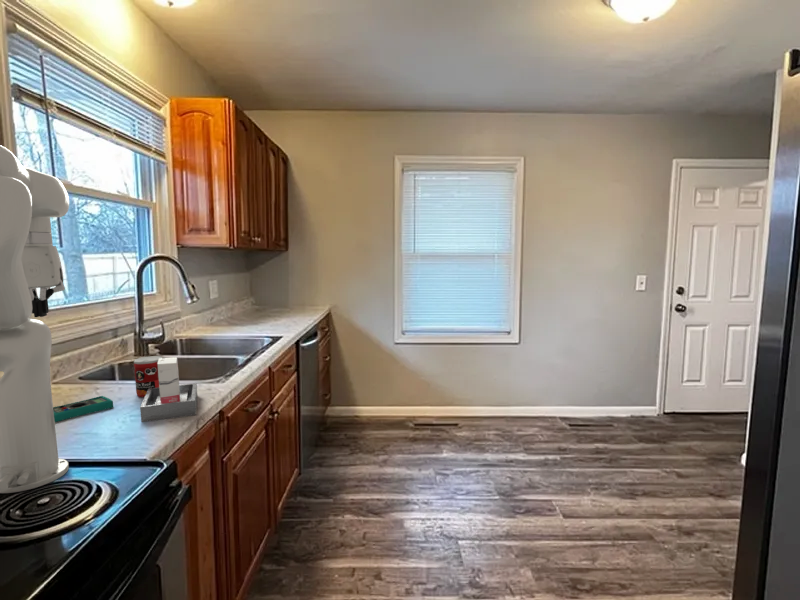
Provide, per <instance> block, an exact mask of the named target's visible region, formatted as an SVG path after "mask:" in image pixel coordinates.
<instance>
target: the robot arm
mask: <svg viewBox="0 0 800 600" xmlns="http://www.w3.org/2000/svg"><path fill="white" fill-rule="evenodd" d="M69 209H70V198H69V193H68V192H67V190H66V188H65V186H64V184H63V183H62V182H61V180H59V178H57V177H55V176H53V175H50V174H48V173H44V172H41V171H38V170H35V169H32V168H29V167H26V166H23V165H22V164H21V162H20V160H19V159H18V158H17V157H16V156H15V154H14V153H13V152H12V151H10V149H8V148H6V147H5V146H3V145H0V372H3V375H2V376H1V377H0V494H12V493H19V492H23V491H27V490H28V491H29V490H31V489H36V488H38V487H42V486H44V485H47V484H49V483H52V482H54V481H56V480H57V479H60V478H61V477H63V476H64V475H65V474H66V473H67V472H68V470H69V468H70V466H69V461H67V459H64V458H59V453H58V441H57V433H56V431H57V430H56V422H55V421H54V411H53V407H54V403H53V394H52V385H51V384H52V382H51V355H52V341H53V340H52V339H53V337H52V332H51V329H50V327H49V326H48V325H47V324H46V323H45V322H44V321H41V320H39V319H34V318H39V317H40V318H44V317H46V316H47V315H48V314H47V313H49V311H50V310H49V309H50V308H49V302H48V300H49V299H50V298H51V297H52V295H53V294H55V293H59V292H63V291H65V286H64V273H63V266H62V261H61V257H60V254H59V252H58V248H57V246H56V245H54V243H53V235H52V225H51V218H62V217H64V216H66V214H67V213H68V212H69ZM38 288H39V295H38V291H37V289H38ZM32 315H33V316H34V318H31V316H32Z"/></svg>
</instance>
